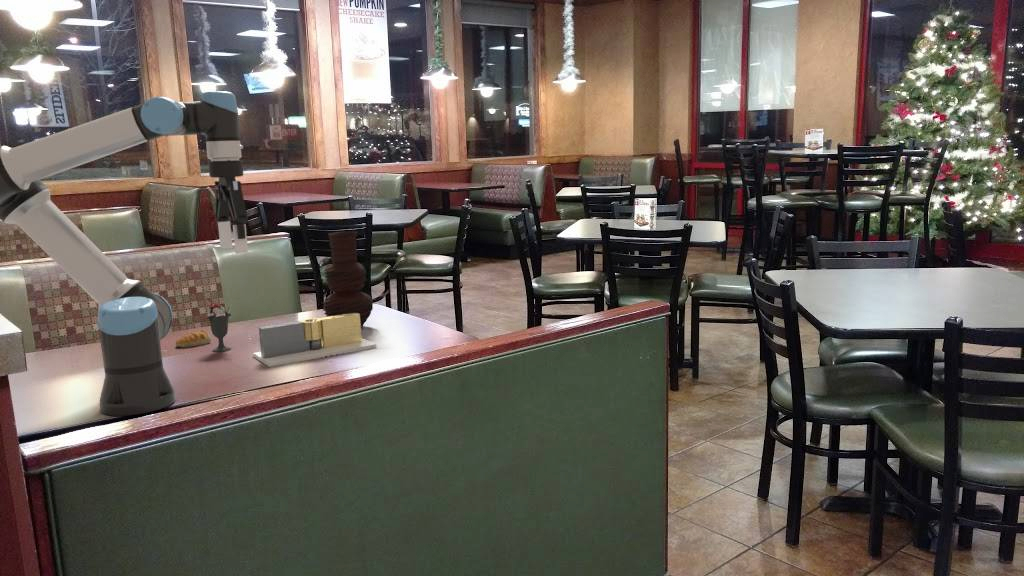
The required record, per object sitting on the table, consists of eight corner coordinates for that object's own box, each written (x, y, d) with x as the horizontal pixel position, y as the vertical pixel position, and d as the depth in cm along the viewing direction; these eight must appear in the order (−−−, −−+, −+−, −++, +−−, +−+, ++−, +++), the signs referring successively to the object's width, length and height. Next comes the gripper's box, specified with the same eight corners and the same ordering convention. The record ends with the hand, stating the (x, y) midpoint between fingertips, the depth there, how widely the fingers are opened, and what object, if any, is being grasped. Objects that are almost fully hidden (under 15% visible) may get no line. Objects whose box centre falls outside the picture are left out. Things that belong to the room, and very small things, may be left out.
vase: (322, 326, 251) (315, 232, 246) (371, 321, 256) (364, 229, 251) (326, 336, 237) (318, 236, 232) (377, 331, 241) (371, 233, 236)
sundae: (203, 351, 223) (198, 299, 220) (222, 346, 229) (217, 295, 226) (220, 353, 220) (215, 300, 217) (239, 348, 226) (234, 296, 223)
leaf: (307, 352, 214) (305, 323, 212) (301, 348, 218) (298, 320, 217) (363, 342, 223) (361, 314, 221) (356, 339, 227) (354, 312, 226)
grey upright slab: (265, 358, 208) (262, 329, 207) (261, 356, 211) (258, 327, 210) (323, 348, 217) (321, 320, 216) (319, 346, 220) (317, 318, 219)
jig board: (269, 366, 204) (268, 363, 204) (253, 356, 215) (253, 352, 215) (376, 347, 220) (376, 344, 220) (356, 338, 232) (356, 335, 232)
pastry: (183, 350, 227) (181, 337, 226) (171, 347, 231) (169, 334, 231) (213, 343, 234) (211, 330, 233) (201, 340, 238) (200, 328, 238)
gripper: (257, 158, 176) (265, 253, 179) (227, 160, 196) (235, 244, 200) (222, 160, 172) (231, 256, 175) (196, 161, 192) (205, 247, 196)
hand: (233, 250), depth 188 cm, fingers open, 13 cm apart
